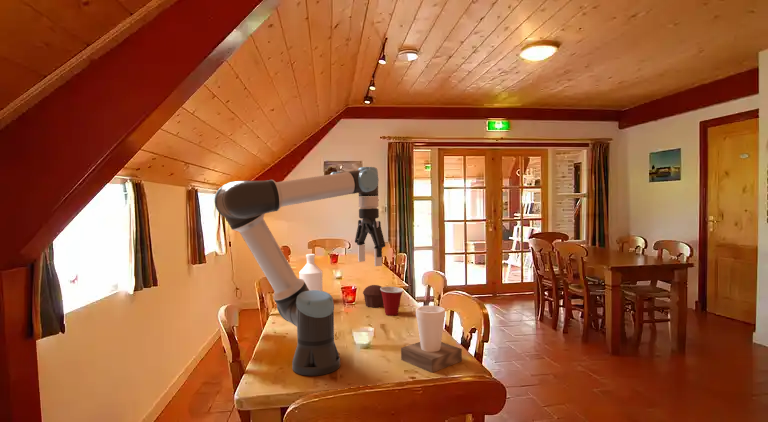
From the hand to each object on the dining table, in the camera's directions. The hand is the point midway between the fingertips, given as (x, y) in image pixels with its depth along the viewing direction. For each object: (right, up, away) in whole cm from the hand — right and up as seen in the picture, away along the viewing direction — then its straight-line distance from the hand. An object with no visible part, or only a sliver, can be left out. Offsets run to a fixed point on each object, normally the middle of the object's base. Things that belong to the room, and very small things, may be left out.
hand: (369, 263), depth 164 cm
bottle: (-32, -28, +59) cm, 72 cm away
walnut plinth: (+21, -29, -22) cm, 42 cm away
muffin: (+1, -27, +51) cm, 57 cm away
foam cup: (+21, -25, -22) cm, 40 cm away
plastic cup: (+9, -28, +34) cm, 45 cm away
